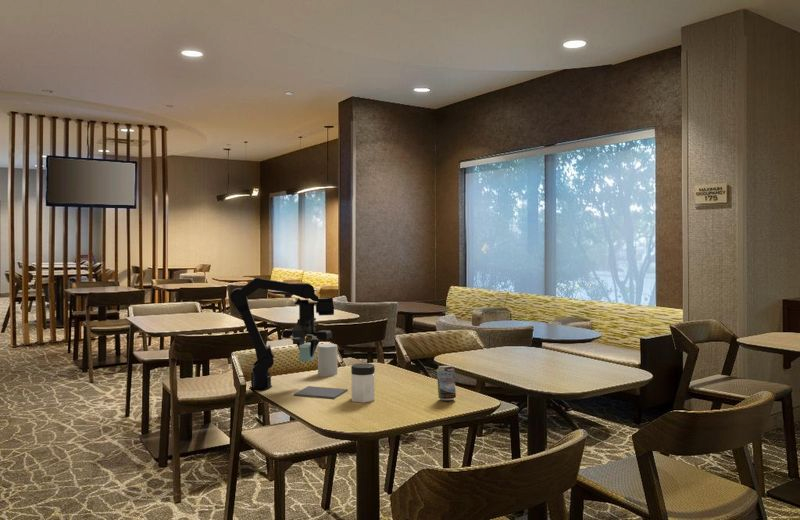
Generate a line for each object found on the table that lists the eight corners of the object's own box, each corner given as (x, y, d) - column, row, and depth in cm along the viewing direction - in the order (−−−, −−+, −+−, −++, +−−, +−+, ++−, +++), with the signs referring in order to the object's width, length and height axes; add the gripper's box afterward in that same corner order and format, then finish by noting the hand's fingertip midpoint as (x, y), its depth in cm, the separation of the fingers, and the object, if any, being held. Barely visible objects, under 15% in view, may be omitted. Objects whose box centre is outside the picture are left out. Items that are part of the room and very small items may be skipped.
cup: (341, 373, 254) (341, 344, 254) (329, 377, 248) (328, 347, 247) (326, 371, 259) (326, 343, 258) (313, 374, 252) (313, 346, 252)
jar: (357, 404, 206) (357, 369, 206) (346, 398, 213) (346, 365, 213) (380, 400, 211) (380, 366, 211) (368, 395, 218) (368, 362, 217)
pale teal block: (299, 361, 230) (299, 345, 230) (306, 358, 236) (306, 342, 236) (308, 361, 229) (307, 345, 229) (315, 358, 235) (314, 343, 235)
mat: (293, 395, 218) (293, 393, 218) (308, 387, 229) (308, 386, 229) (334, 398, 213) (334, 397, 213) (347, 390, 225) (347, 389, 225)
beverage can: (444, 403, 206) (444, 368, 206) (433, 398, 213) (433, 364, 213) (459, 401, 209) (459, 366, 209) (448, 396, 216) (448, 362, 215)
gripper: (274, 317, 227) (275, 359, 228) (320, 319, 222) (320, 361, 222) (288, 314, 238) (289, 353, 238) (332, 315, 232) (332, 356, 233)
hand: (307, 356), depth 233 cm, fingers closed on pale teal block, 3 cm apart
